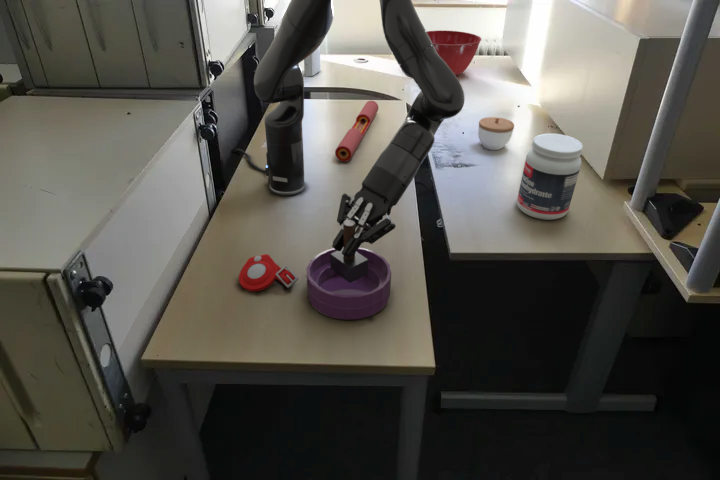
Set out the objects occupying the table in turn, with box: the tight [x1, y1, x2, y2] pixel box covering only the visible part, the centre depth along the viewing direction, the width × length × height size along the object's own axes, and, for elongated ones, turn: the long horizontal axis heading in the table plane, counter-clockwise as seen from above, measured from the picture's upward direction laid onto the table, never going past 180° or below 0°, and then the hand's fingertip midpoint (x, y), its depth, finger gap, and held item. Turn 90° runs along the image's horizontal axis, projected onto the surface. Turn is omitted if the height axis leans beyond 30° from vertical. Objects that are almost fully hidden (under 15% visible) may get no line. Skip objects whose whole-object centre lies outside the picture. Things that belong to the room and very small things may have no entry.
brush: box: [330, 220, 368, 283], centre depth 99 cm, size 6×4×11 cm
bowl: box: [306, 247, 392, 320], centre depth 104 cm, size 16×16×6 cm
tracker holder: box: [238, 253, 299, 293], centre depth 108 cm, size 12×4×10 cm
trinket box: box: [477, 116, 515, 151], centre depth 166 cm, size 11×11×9 cm
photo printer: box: [303, 46, 321, 77], centre depth 228 cm, size 10×4×12 cm, turn 160°
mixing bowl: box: [426, 30, 482, 77], centre depth 233 cm, size 28×28×15 cm
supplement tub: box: [516, 132, 584, 221], centre depth 130 cm, size 13×13×18 cm
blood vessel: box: [334, 100, 379, 163], centre depth 172 cm, size 42×5×5 cm, turn 167°
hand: (340, 252), depth 98 cm, fingers closed on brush, 2 cm apart
